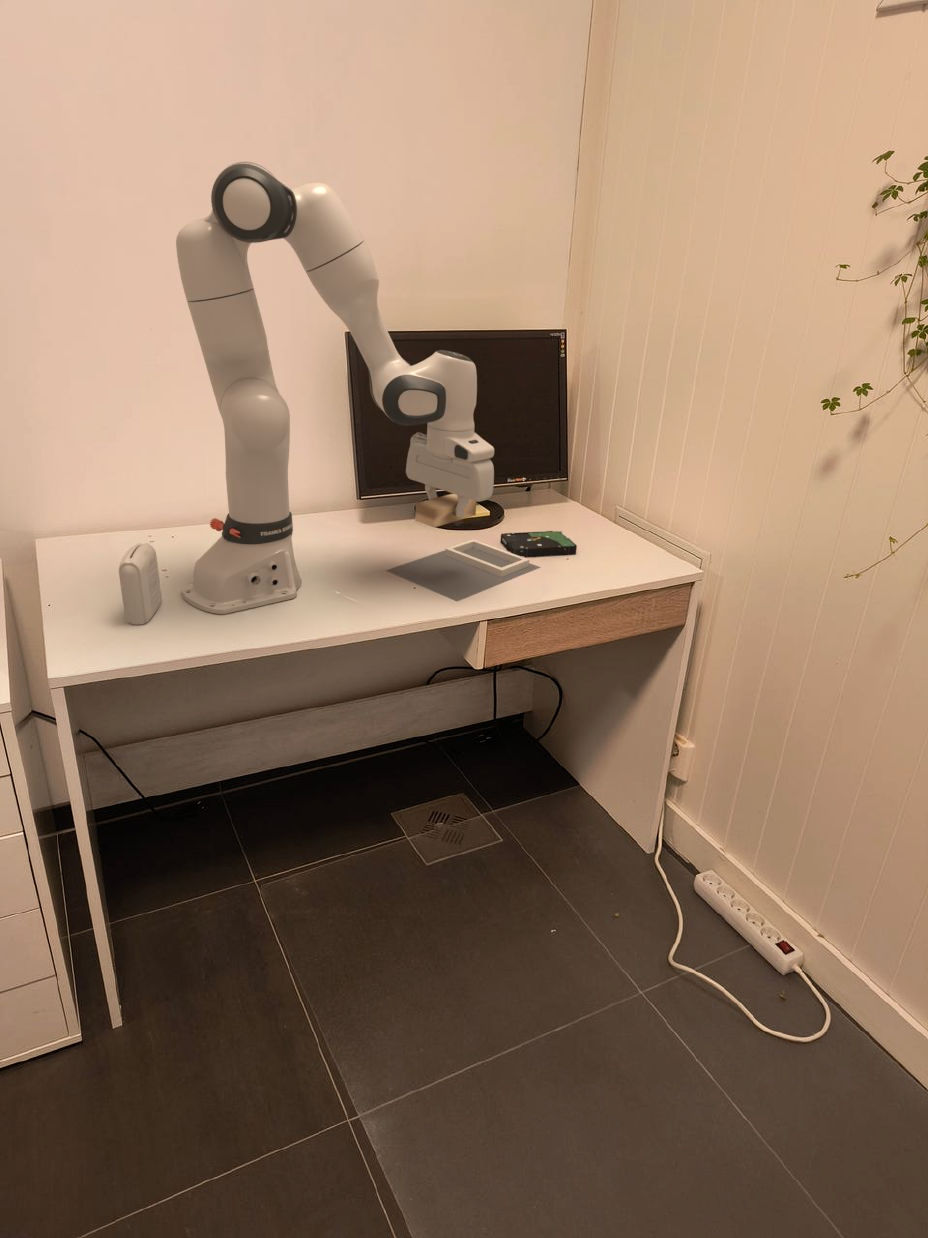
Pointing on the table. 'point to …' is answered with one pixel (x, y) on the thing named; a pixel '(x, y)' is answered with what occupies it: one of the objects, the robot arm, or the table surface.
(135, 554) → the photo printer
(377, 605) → the table surface
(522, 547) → the disk drive
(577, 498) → the table surface
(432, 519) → the tan wooden block
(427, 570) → the mat
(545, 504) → the table surface
